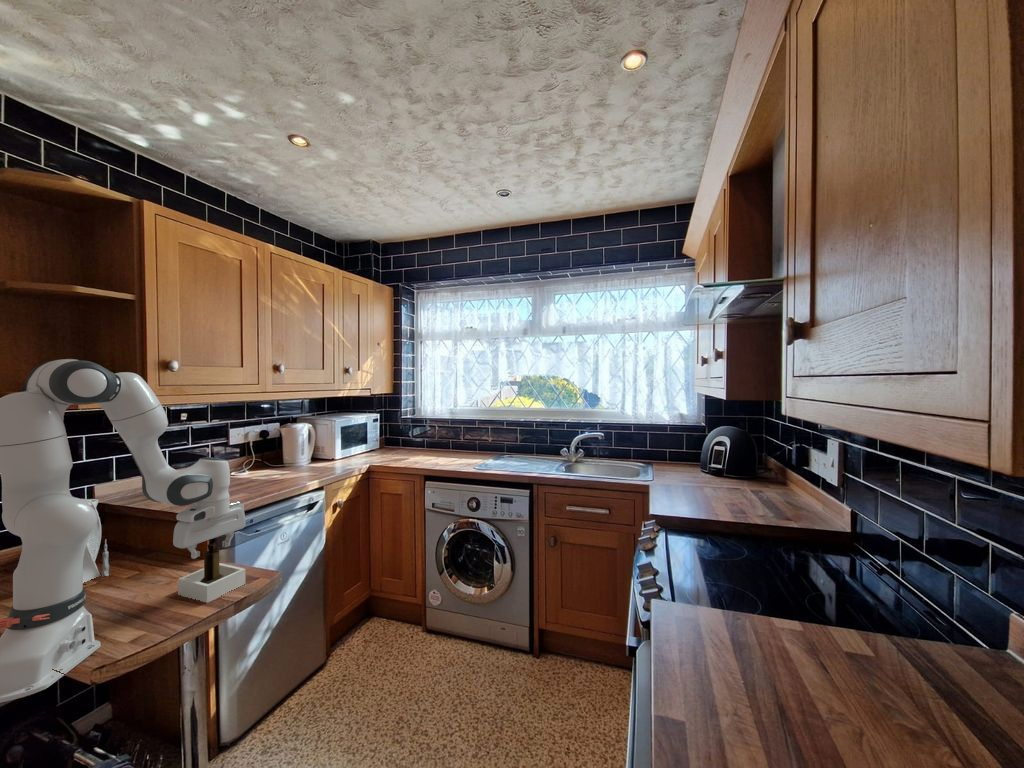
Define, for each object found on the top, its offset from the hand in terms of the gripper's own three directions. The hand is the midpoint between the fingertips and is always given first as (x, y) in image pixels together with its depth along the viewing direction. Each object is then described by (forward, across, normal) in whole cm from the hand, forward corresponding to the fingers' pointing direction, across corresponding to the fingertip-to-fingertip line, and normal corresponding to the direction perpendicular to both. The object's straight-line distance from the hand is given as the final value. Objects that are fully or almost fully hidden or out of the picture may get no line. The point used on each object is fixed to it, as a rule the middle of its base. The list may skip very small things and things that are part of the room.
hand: (211, 551), depth 128 cm
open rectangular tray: (+12, -1, 0) cm, 12 cm away
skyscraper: (+13, +10, -45) cm, 48 cm away
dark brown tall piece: (+11, 0, 0) cm, 11 cm away
